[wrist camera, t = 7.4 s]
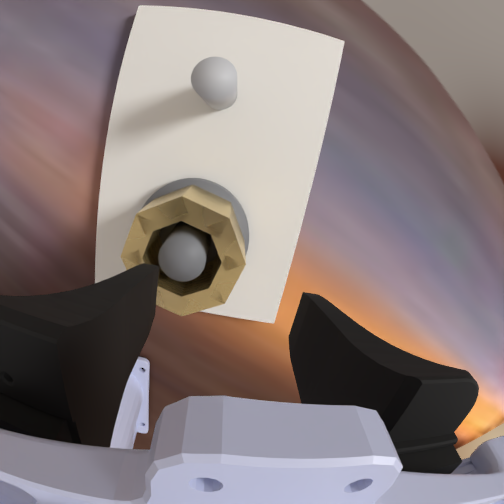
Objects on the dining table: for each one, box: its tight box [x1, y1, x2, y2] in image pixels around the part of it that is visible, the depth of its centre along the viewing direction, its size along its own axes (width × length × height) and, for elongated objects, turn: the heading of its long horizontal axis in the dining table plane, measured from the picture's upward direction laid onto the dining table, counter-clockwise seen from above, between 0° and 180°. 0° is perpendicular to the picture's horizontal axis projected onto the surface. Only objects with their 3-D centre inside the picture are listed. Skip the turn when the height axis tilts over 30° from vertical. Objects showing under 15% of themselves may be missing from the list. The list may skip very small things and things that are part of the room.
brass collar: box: [121, 184, 246, 316], centre depth 16 cm, size 5×5×4 cm
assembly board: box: [95, 6, 345, 324], centre depth 15 cm, size 18×12×6 cm, turn 168°
